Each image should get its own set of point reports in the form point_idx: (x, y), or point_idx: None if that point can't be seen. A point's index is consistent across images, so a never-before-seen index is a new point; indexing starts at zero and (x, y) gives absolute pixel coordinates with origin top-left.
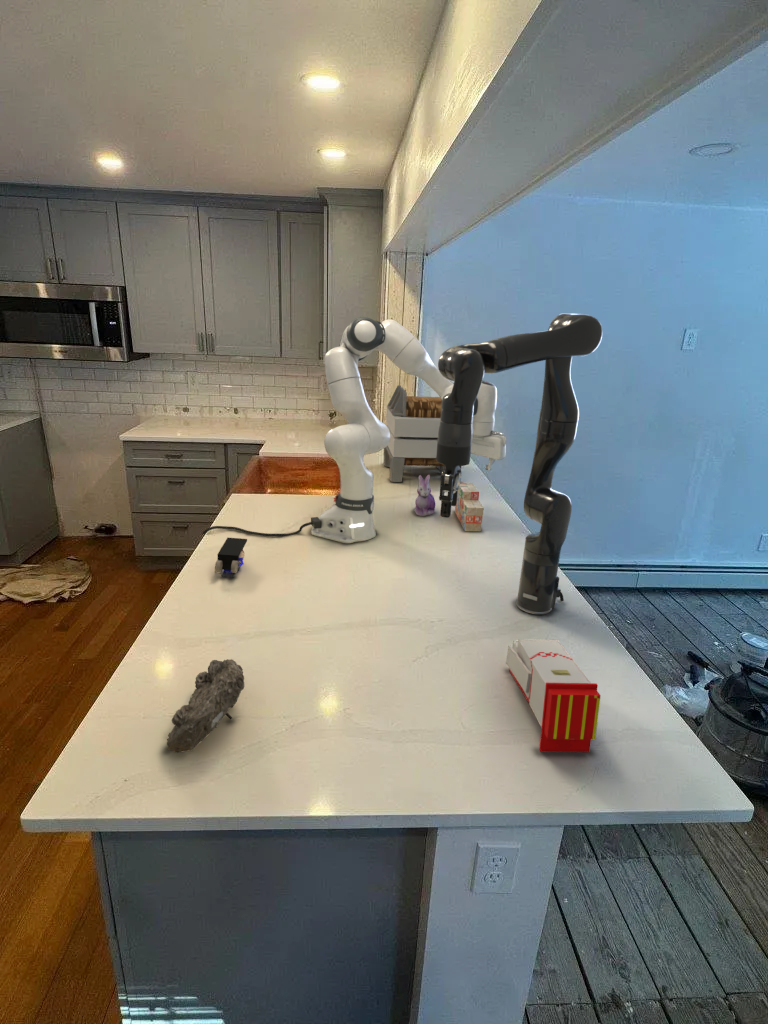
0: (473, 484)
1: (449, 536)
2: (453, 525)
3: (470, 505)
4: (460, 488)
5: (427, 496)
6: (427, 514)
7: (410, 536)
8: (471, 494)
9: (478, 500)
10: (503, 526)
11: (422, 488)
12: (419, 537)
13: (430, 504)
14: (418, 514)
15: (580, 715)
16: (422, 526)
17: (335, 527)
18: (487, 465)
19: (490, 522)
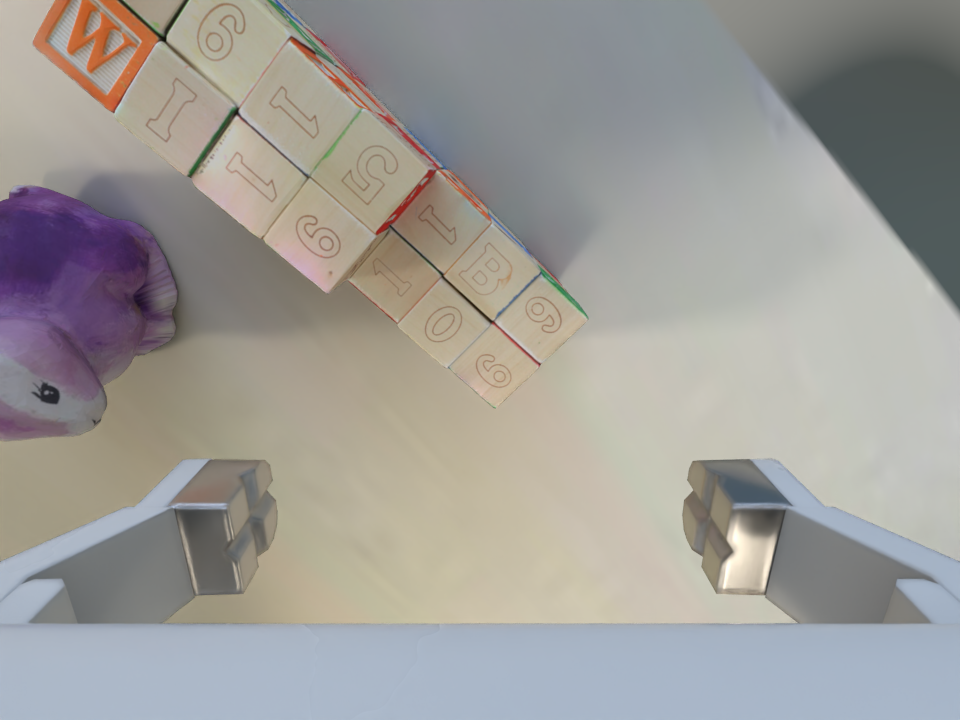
0: None
1: (477, 457)
2: (387, 318)
3: (486, 356)
4: (217, 201)
5: (98, 379)
6: (171, 311)
7: (357, 580)
8: (383, 226)
9: (451, 190)
10: (615, 69)
11: (26, 439)
12: (391, 561)
13: (122, 296)
14: (143, 352)
15: None
16: (294, 455)
17: None
18: (759, 594)
19: (509, 73)
